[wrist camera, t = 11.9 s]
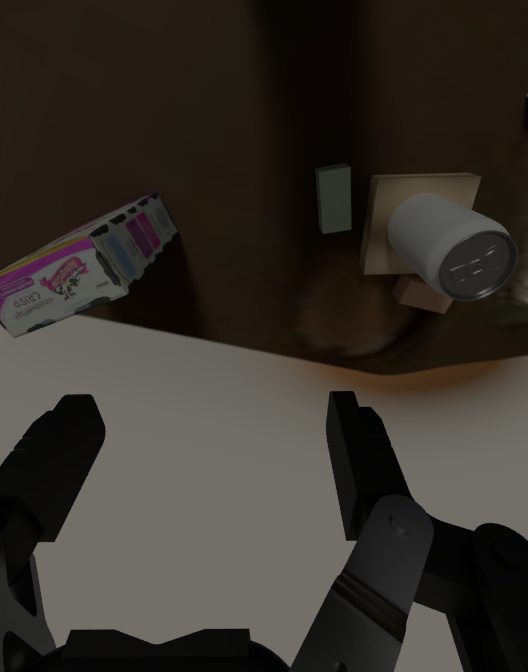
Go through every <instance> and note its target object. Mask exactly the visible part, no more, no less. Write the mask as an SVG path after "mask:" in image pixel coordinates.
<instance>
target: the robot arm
mask: <svg viewBox="0 0 528 672" xmlns="http://www.w3.org/2000/svg"><path fill="white" fill-rule="evenodd" d="M326 436H327V443H328V448H329V453H330V459H331V463H332V469H333V474H334V479H335V484H336V489H337V495H338V500H339V505H340V511H341V516H342V521H343V526H344V531H345V537H346V541H355V540H356V541H357V543H356V545H355V546H354V549H353V550H352V553H351V555H350V557H349V559H348V561H347V563H346V565H345V567H344V569H343V570H342V572H341V574H340V575H338V576H337V578H336V579H335V581H334V583H333V585H332V586H331V588H330V590H329V592H328V594H327V596H326V598H325V600H324V602H323V604H322V606H321V608H320V610H319V612H318V614H317V616H316V618H315V620H314V622H313V624H312V626H311V628H310V630H309V632H308V634H307V636H306V638H305V640H304V642H303V644H302V646H301V648H300V650H299V652H298V654H297V656H296V658H295V660H294V662H293V664H292V666H291V668H290V667H289V666H288V665H287V664H286V663H285V662H284V661H283V660H282V659H281V658H280V657H279V656H278V655H276V654H275V653H274V652H273V651H271V650H270V649H268V648H266V647H264V646H263V645H261V644H259V643H256V642H254V641H251V639H250V632H249V629H204V630H201V631H198V632H195V633H192V634H189V635H186V636H183V637H180V638H177V639H174V640H171V641H168V642H165V643H162V644H158V645H157V644H151V643H149V642H146V641H144V640H141V639H138V638H136V637H133V636H130V635H128V634H125V633H122V632H120V631H117V630H113V629H112V630H71V631H70V634H69V636H68V639H67V642H66V644H65V645H63V646H61V647H59V648H56V645H55V642H54V639H53V637H52V635H51V632H50V630H49V628H48V626H47V623H46V620H45V616H44V610H43V604H42V598H41V592H40V585H39V579H38V573H37V567H36V561H35V557H34V555H33V551H34V549H35V547H36V545H37V543H38V542H55V540H56V538H57V536H58V534H59V532H60V530H61V528H62V526H63V524H64V522H65V520H66V518H67V516H68V514H69V512H70V510H71V507H72V506H73V503H74V502H75V500H76V498H77V495H78V493H79V491H80V489H81V487H82V485H83V483H84V481H85V479H86V477H87V475H88V473H89V471H90V469H91V467H92V465H93V463H94V461H95V459H96V457H97V455H98V453H99V451H100V448H101V447H102V445H103V442H104V439H105V425H104V422H103V420H102V417H101V415H100V413H99V410H98V407H97V405H96V403H95V400H94V398H93V397H92V395H89V394H75V395H74V394H73V395H65V396H64V397H62V398H61V400H60V401H59V402H58V404H57V405H56V407H55V408H54V409H53V411H47V412H46V413H45V414H43V415H42V416H41V417H40V418H38V419H37V420H36V421H34V422H33V423H32V425H31V426H30V427H29V429H28V430H27V431H26V433H25V434H24V435H23V438H22V439H21V440H20V441H19V442H18V443H17V444H16V446H15V447H14V451H11V452H10V454H9V455H8V456H7V458H6V459H5V460H4V462H3V463H2V464H1V466H0V672H394V668H395V665H396V662H397V659H398V656H399V653H400V650H401V646H402V643H403V639H404V636H405V632H406V622H407V618H408V615H409V612H410V609H411V606H412V603H413V602H416V603H419V604H421V605H424V606H427V607H429V608H432V609H434V610H437V611H440V612H442V613H445V614H446V617H447V620H448V623H449V626H450V629H451V633H452V636H453V639H454V642H455V645H456V648H457V652H458V655H459V658H460V661H461V664H462V668H463V671H464V672H528V541H527V540H526V539H525V538H524V537H523V536H521V535H520V534H519V533H517V532H516V531H514V530H512V529H510V528H508V527H506V526H503V525H500V524H495V523H485V524H482V525H480V526H478V527H477V529H475V531H472V530H469V529H465V528H462V527H459V526H455V525H452V524H449V523H445V522H443V521H440V520H438V519H436V518H434V517H432V516H431V515H429V514H428V513H426V511H425V510H424V509H423V508H422V507H421V506H420V505H419V504H418V503H416V502H415V500H414V499H413V497H412V496H411V493H410V491H409V489H408V486H407V484H406V481H405V478H404V476H403V473H402V471H401V468H400V466H399V463H398V460H397V458H396V455H395V453H394V450H393V448H392V447H391V442H390V440H389V437H388V436H387V432H386V430H385V427H384V424H383V422H382V419H381V418H380V417H379V416H378V415H377V414H376V412H375V411H374V410H373V409H372V408H371V407H359V405H358V402H357V400H356V397H355V393H354V392H353V391H331V392H330V395H329V404H328V412H327V420H326Z"/></svg>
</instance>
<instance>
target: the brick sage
mask: <svg viewBox="0 0 528 672" xmlns="http://www.w3.org/2000/svg"><path fill="white" fill-rule="evenodd" d="M315 171H316V186H317V202H318V218H319V227H320V229H321V232H322V234H326V233H332V232H339V231H345V230H351V167H350V166H348V165H347V164H345V163H343V164H337V165H331V166H326V167H320V168H315Z"/></svg>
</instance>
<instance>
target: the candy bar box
mask: <svg viewBox="0 0 528 672" xmlns="http://www.w3.org/2000/svg"><path fill="white" fill-rule="evenodd" d="M177 233H178V230H177V228H176V226H175V224H174V223H173V221H172V219H171V218H170V216H169V214H168V212H167V209H166V208H165V206H164V203H163V201H162V199H161V198H160V196H159V194H158V192H154V193H152V194H150V195H147V196H145V197H143V198H140V199H138V200H136V201H133V202H131V203H129V204H127V205H124V206H122V207H120V208H118V209H115V210H113V211H111V212H109V213H107V214H105V215H102V216H100V217H98V218H96V219H94V220H92V221H90V222H88V223H86V224H84V225H82V226H80V227H78V228H76V229H74V230H72V231H70V232H69V233H67V234H65V235H63V236H62V237H60V238H58V239H56V240H55V241H53V242H51V243H49V244H48V245H46V246H44V247H42V248H41V249H39V250H37V251H35V252H33V253H32V254H30V255H28V256H26V257H24V258H23V259H21V260H19V261H17V262H15V263H13V264H11V265H10V266H8V267H6V268H4V269H2V270H1V271H0V324H1V325H2V327H3V328H4V329H6V330H7V332H8V333H9V334H10V335H11V336H12V337H13V338H16V337H19V336H22V335H24V334H27V333H29V332H32V331H35V330H37V329H40V328H43V327H45V326H48V325H51V324H53V323H56V322H58V321H61V320H64V319H66V318H69V317H71V316H74V315H77V314H79V313H81V312H85V311H87V310H89V309H92V308H95V307H97V306H100V305H102V304H105V303H107V302H110V301H113V300H115V299H118V298H120V297H123V296H125V295H127V294H128V293H129V291H130V290H131V289H132V288H133V286H134V285H135V284H136V283H137V282H138V280H139V279H140V278H141V277H142V276H143V274H144V273H145V272H146V270H147V269H148V268H149V267H150V266H151V264H152V263H153V262H154V261H155V259H156V258H157V257H158V256H159V254H160V253H161V252H162V251H163V249H164V248H165V247H166V246H167V245H168V243H169V242H170V241H171V240H172V239H173V237H174V236H175V235H176V234H177Z"/></svg>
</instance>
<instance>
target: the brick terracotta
mask: <svg viewBox="0 0 528 672" xmlns="http://www.w3.org/2000/svg"><path fill="white" fill-rule="evenodd" d="M392 294H393V296H394V297H395V298H396V300H397V301H398V303H399V304H404V305H408V306H412V307H417V308H421V309H425V310H430V311H434V312H438V313H443V314H444V313H445V312H446V310H447V309H448V307H449V305H450V304H451V302H452V301H453V299H452V298H450V297H448V296H444V295H442V294H439V293H438V292H436V291H435V290H434V289H432V288H431V287H430V286H429V285H428V284H427V283H426V282H425V281H424V280H423V279H422V278H421V277H420V276H419V275H416V274H401V275H400V277H399V279H398V281H397V283H396V285H395V287H394V289H393V291H392Z"/></svg>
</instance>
